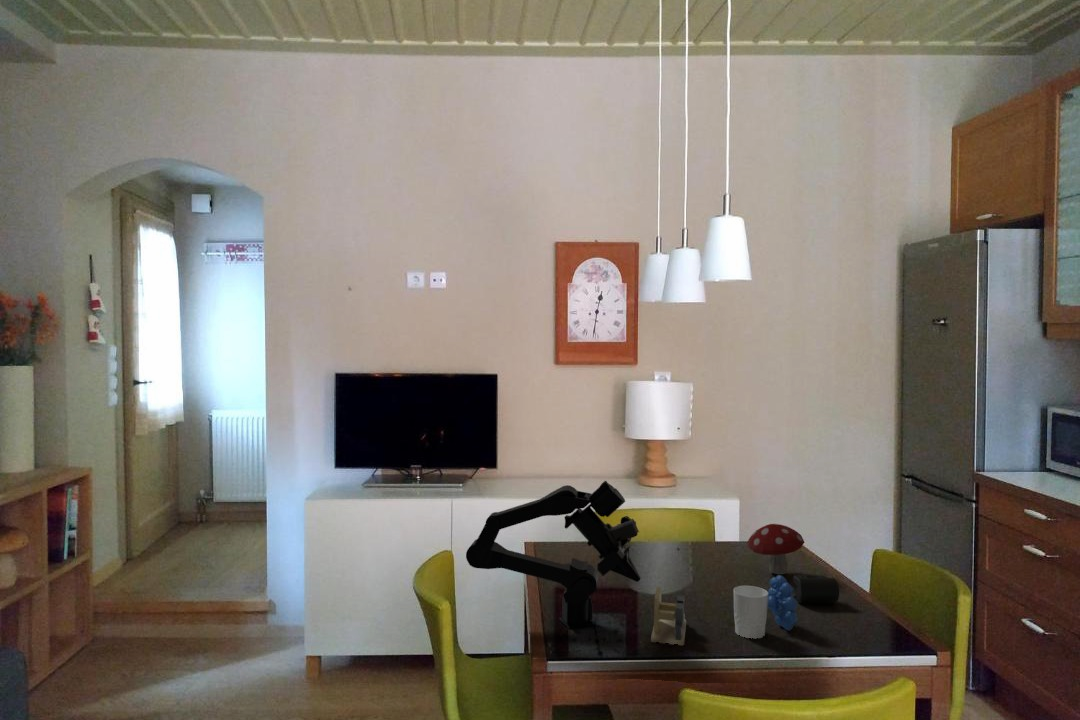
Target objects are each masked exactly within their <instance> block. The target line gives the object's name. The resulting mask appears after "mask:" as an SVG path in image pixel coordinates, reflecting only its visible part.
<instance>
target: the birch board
mask: <svg viewBox="0 0 1080 720" xmlns="http://www.w3.org/2000/svg"><path fill="white" fill-rule="evenodd" d="M686 627H687V619H684V625H683V635H682V637H681V640H675V636H674V628H675V619H674V621H671V620H662V619H661V622H660V627H659V631H658V633H656V632H654V626H653V628H652V632H651V635H650V636H651V637H650V642H651V643H656V642H659V644H665V643H669V644H668V645H674V644H678V645H677V646H683V645H684V646H685V638H686V629H687V628H686Z"/></svg>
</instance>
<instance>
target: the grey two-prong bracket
mask: <svg viewBox="0 0 1080 720" xmlns="http://www.w3.org/2000/svg"><path fill="white" fill-rule="evenodd" d="M675 604H676V612H675V628H674V636H675V640H681V637H682V635H683V625H684V620H686V619H685V615H686V614H685V595H677V597H676V603H675Z"/></svg>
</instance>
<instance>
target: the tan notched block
mask: <svg viewBox="0 0 1080 720" xmlns="http://www.w3.org/2000/svg"><path fill="white" fill-rule="evenodd" d="M662 587H663V586H657V587H656V591H655V595H654V605H653V606H654V609H653V610H654V612H653V613H654V614H653V615H654V616H653V627H654V632H656V633H658V631H659V627H660V622H661V619H662V620H671V621H674V619H675V613H676V603H672V602H664V601H662Z"/></svg>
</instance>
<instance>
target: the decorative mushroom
mask: <svg viewBox="0 0 1080 720" xmlns="http://www.w3.org/2000/svg"><path fill="white" fill-rule="evenodd" d="M804 544H805V540H804V538H803V536H802V534H800V532H798V531H797V530H795V529H793V528H792V527H790V526H787V525H783V524H779V523H769V524H767V525H763V526H761V527H760V528H758V529H756V530H755V531H754V532H753V533H752V534H751V535H750V536H749V538H748V540H747V546H748V549H749V550H750V551H752V552H753V553H754V554H758V555H759V554H760V555H762V556H770V559H769V568H768V569H769V570H768V571H769V572H770V573H772V574H775V575H785V574H787V573H788V561H787V557H786V555H787V554H791V553H794V552H797V551H798V550H800V549H801V548H802V547H803V546H804Z"/></svg>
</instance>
